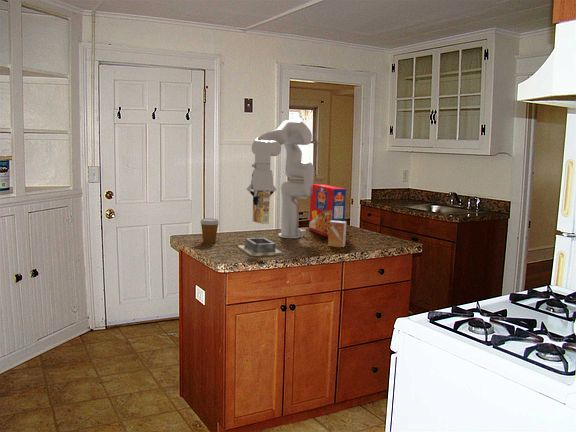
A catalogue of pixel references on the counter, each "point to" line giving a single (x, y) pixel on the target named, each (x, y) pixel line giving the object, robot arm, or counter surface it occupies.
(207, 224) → the disposable coffee cup
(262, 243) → the slot stand
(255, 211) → the candy box
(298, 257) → the counter surface
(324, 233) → the pasta box
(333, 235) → the small box
